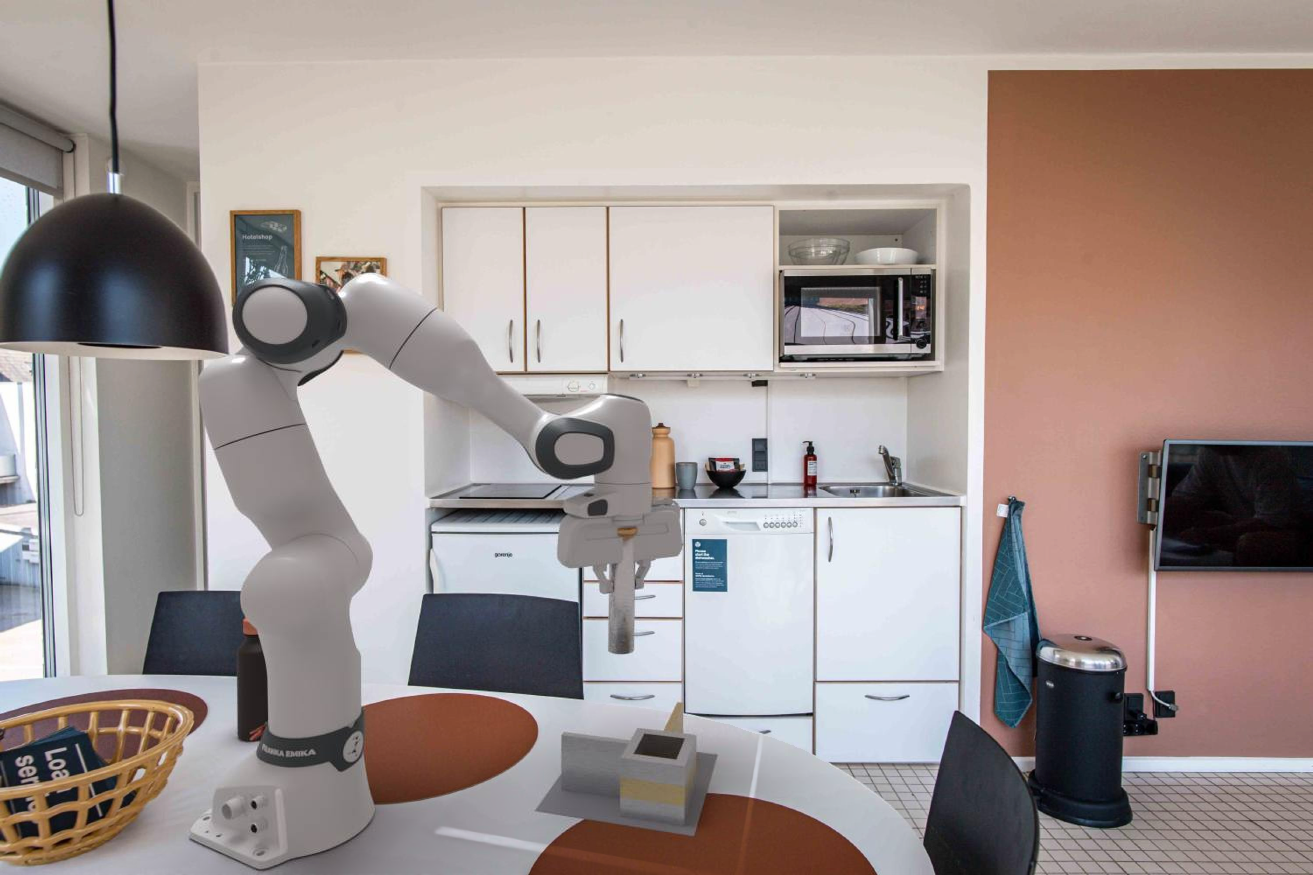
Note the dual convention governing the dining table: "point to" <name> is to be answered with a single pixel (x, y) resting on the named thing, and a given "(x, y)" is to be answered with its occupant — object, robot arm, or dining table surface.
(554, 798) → the base board
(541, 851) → the dining table surface
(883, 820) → the dining table surface
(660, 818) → the hinge
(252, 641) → the bottle
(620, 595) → the hinge pin
